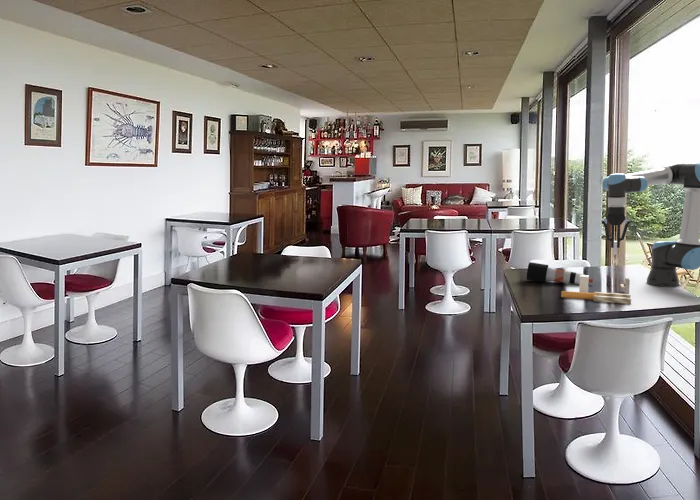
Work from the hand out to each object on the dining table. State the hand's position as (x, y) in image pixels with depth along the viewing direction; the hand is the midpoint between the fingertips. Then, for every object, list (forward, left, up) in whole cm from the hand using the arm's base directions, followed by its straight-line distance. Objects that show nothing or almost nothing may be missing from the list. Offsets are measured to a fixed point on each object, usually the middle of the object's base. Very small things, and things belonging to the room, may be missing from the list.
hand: (615, 254), depth 281 cm
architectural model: (-6, -11, -22) cm, 25 cm away
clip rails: (+1, +9, -21) cm, 23 cm away
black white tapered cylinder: (+27, -24, -21) cm, 41 cm away
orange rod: (+15, +9, -21) cm, 27 cm away
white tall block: (+13, -2, -21) cm, 25 cm away
